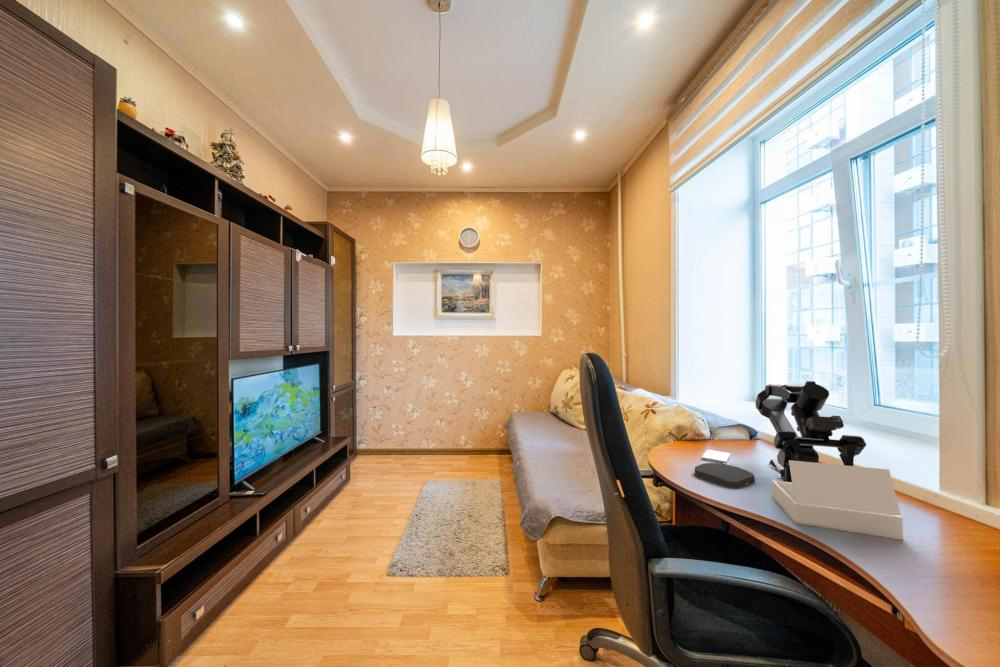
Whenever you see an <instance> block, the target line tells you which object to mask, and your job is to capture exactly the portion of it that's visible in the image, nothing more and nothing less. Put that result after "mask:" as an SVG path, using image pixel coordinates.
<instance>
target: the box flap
mask: <svg viewBox="0 0 1000 667" xmlns="http://www.w3.org/2000/svg"><path fill="white" fill-rule="evenodd" d="M789 466H790V472H791V478H792V485H793V491H794V498H795V502H797V503H805V504H813V505H821V506H829V507H836V508H844V509H852V510H860V511H868V512H876V513H884V514H891V515H899V516H900V517H902V515H901V512H900V507H899V504H898V503H899V502H898V500H897V496H896V492H895V488H894V484H893V479H892V475H891V470H890V469H888V468H887V469H886V468H876V467H874V468H873V467H868V466H867V467H866V466H865V467H864V466H854V465H853V466H845V465H844V464H843V465H842V464H835V463H834V464H833V463H823V462H818V463H813V462H802V461H791V460H789Z"/></svg>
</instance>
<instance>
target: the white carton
mask: <svg viewBox="0 0 1000 667" xmlns="http://www.w3.org/2000/svg"><path fill="white" fill-rule="evenodd" d="M783 481H784V480H773V479H772V480H771V492H772V493H771V494H772V495H771V496H772V497H773V498H772V497H771V498H772V499H773V500H774V501H775V502H776V503H777V504H778V506H779V507H780V508H781V509H782V510H783V511H784V513H785V514H786V515H787V516H788V517H789V518H790V520H792V522H793V523H794V524H795V525H798V524H799V525H798V526H805V527H806V526H807V527H812V526H814V528H819V527H821V529H826V528H827V530H833V531H841V532H846V531H847V532H846V533H855V534H861V535H867V534H868V535H870V536H874V535H876V537H881V536H883V537H882V538H888V537H890V538H889V539H896V540H904V531H903V530H904V529H903V528H904V527H903V517H902V516H899V515H891V514H884V513H876V512H868V511H860V510H852V509H844V508H836V507H829V506H821V505H813V504H805V503H797V502H795V498H794V491H793V485H792V482H783Z"/></svg>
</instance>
